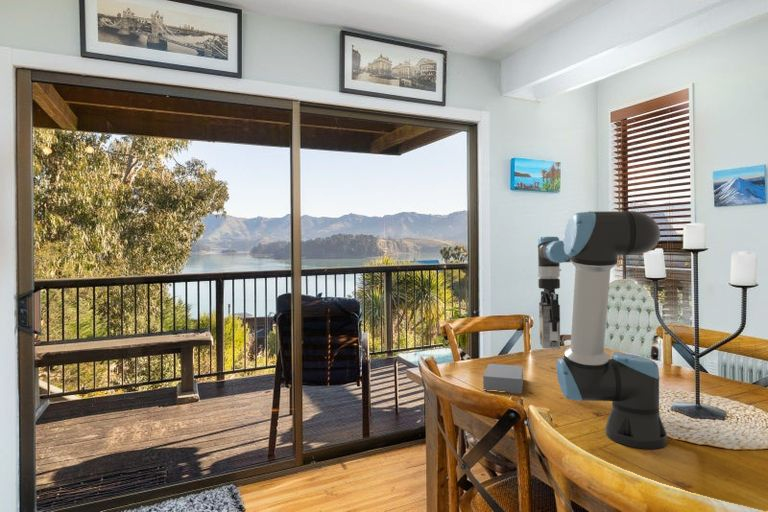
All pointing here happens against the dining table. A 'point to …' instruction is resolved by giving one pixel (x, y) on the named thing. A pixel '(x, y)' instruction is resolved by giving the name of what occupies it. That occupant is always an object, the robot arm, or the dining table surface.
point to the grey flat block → (503, 378)
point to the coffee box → (547, 327)
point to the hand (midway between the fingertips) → (549, 337)
